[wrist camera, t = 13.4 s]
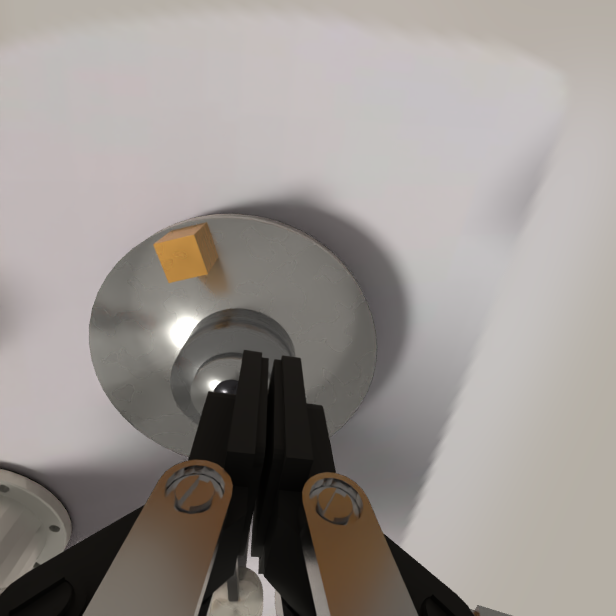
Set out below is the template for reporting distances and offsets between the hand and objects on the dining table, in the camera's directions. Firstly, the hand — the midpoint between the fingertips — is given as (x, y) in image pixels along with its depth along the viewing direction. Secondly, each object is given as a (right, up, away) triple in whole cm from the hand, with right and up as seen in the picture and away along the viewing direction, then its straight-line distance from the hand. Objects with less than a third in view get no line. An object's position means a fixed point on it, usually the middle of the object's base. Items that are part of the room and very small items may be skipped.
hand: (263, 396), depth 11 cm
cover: (-3, -1, +13) cm, 13 cm away
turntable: (-3, 0, +14) cm, 15 cm away
